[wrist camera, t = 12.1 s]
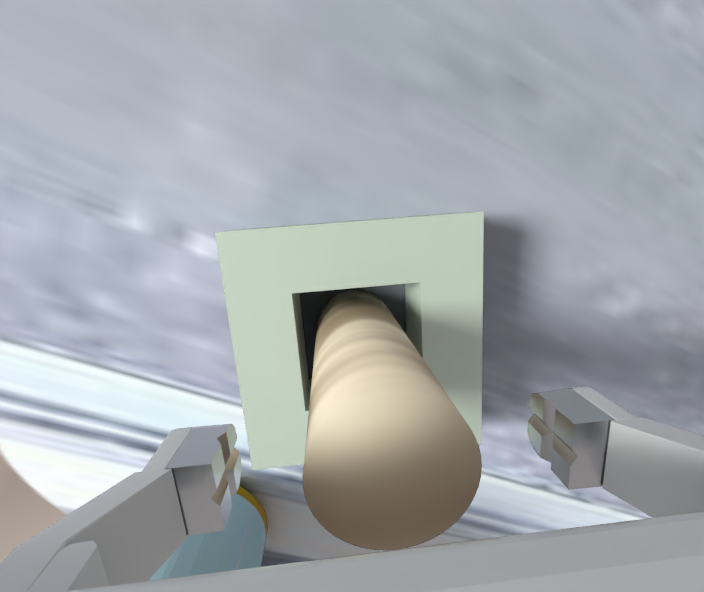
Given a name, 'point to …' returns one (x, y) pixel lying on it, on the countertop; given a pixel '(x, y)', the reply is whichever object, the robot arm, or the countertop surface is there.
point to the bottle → (222, 543)
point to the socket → (343, 273)
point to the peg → (382, 433)
